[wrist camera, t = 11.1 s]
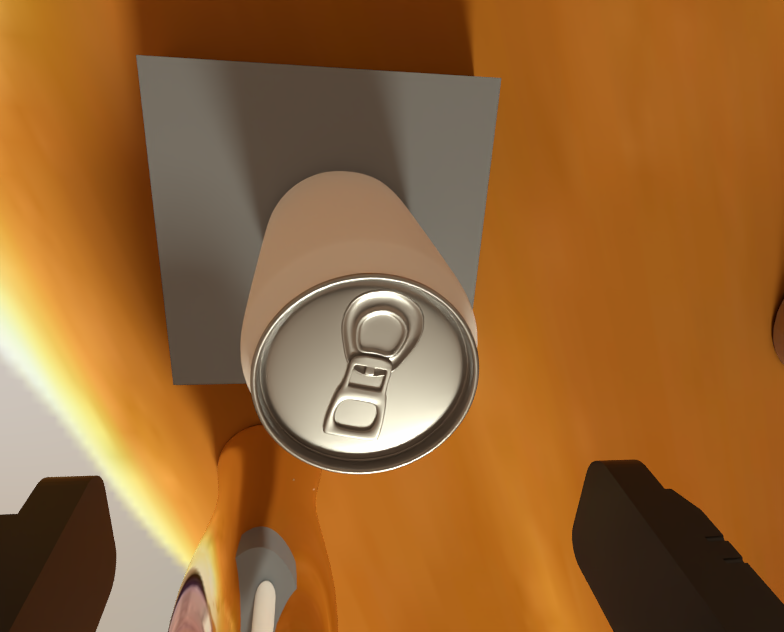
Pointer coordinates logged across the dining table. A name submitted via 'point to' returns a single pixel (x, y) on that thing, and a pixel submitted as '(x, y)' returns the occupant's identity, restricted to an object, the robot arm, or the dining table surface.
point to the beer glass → (260, 548)
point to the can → (356, 330)
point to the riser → (295, 175)
